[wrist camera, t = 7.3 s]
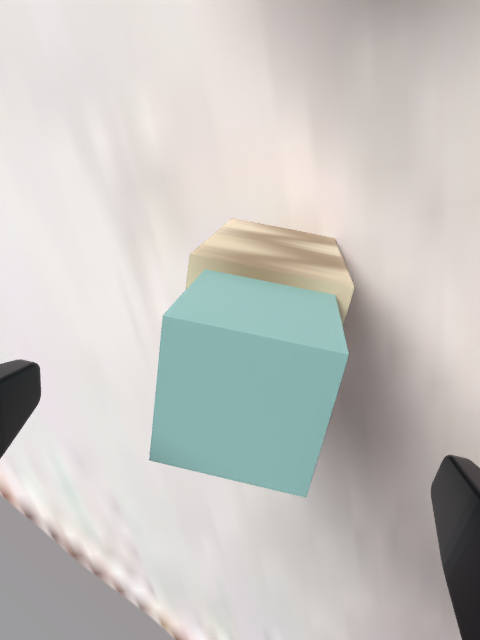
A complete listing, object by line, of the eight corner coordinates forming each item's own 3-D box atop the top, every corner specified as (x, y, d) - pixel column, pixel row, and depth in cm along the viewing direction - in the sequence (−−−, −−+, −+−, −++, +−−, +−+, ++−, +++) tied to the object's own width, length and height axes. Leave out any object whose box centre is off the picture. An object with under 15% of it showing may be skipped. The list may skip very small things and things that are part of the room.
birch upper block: (342, 256, 16) (354, 287, 12) (312, 368, 17) (314, 424, 14) (216, 231, 16) (190, 253, 12) (200, 344, 18) (173, 392, 14)
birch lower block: (334, 237, 19) (341, 256, 16) (310, 332, 21) (311, 368, 18) (231, 218, 20) (215, 231, 16) (217, 312, 22) (199, 344, 18)
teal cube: (335, 294, 12) (349, 354, 8) (305, 405, 14) (306, 497, 10) (204, 268, 12) (162, 315, 9) (190, 380, 14) (149, 460, 10)
